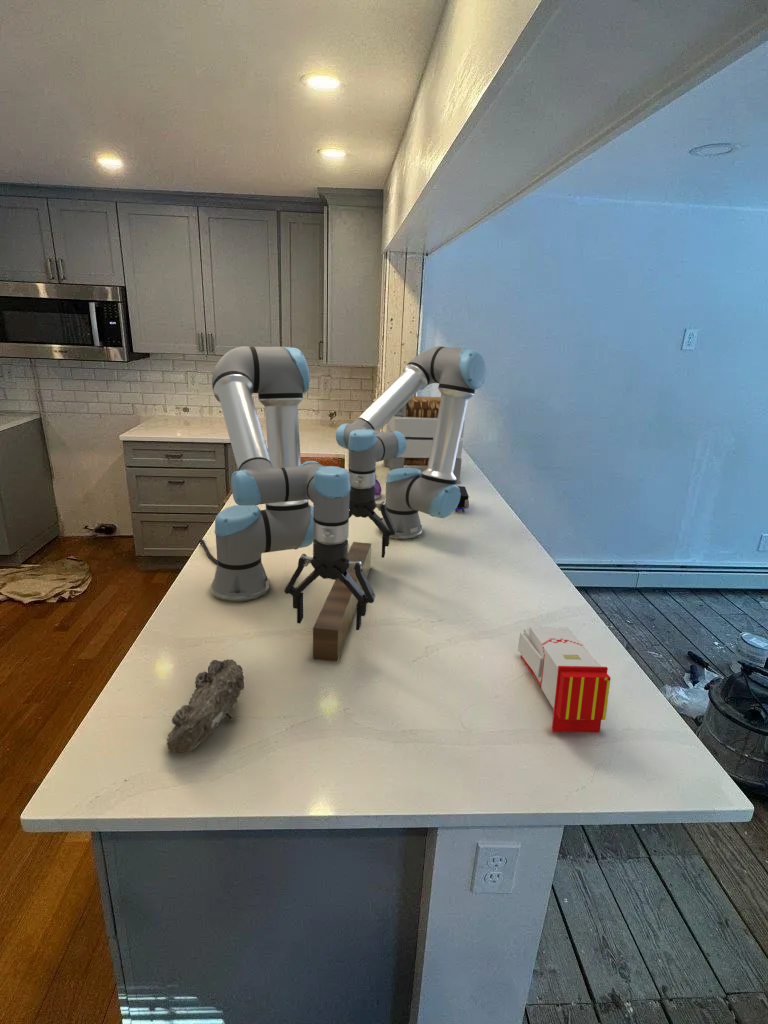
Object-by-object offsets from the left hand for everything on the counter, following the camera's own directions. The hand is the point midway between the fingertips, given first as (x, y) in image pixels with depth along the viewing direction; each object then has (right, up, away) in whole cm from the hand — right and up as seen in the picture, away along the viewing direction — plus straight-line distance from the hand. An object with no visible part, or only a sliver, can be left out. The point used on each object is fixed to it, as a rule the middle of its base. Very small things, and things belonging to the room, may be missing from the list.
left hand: (329, 623), depth 130 cm
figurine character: (+43, +27, +99) cm, 111 cm away
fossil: (-20, -14, -21) cm, 32 cm away
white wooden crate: (+30, +44, +145) cm, 155 cm away
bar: (+2, +1, +21) cm, 21 cm away
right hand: (+6, +13, +37) cm, 40 cm away
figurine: (+7, +32, +107) cm, 112 cm away
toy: (+49, -12, -9) cm, 51 cm away
